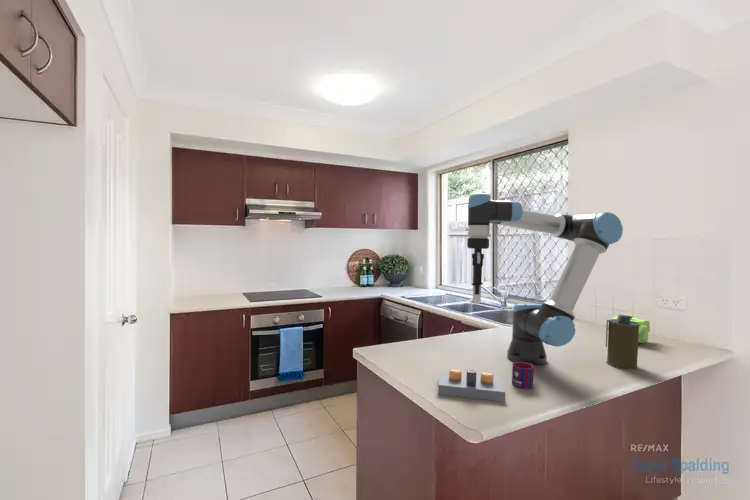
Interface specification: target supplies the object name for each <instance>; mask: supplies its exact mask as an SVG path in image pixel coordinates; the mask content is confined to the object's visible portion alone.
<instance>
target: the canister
mask: <svg viewBox="0 0 750 500" xmlns="http://www.w3.org/2000/svg"><path fill="white" fill-rule="evenodd" d="M629 315H630V314H618V316H617V317H618V318H617V319H613V318H612V319H611V318H610V320H609V319H606V331H605V347H606V348H607V355H606V356H607V358H606V362H605V363H606V364H607V365H608V366H610V365H611V367H613V366H614V367H613V368H616V367H617V369H620V368H622V370H627V369H635V370H637V369H638V368H639V367H638V352H639V343H638V336H639V326H640V324H639V323H637V322H633V321H630V318H632V317H631V316H629ZM608 322H609V331H608Z"/></svg>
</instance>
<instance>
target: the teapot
mask: <svg viewBox="0 0 750 500" xmlns="http://www.w3.org/2000/svg"><path fill="white" fill-rule="evenodd" d="M628 315H629V316H631V317H632V318H630V321H633V322H637V323H639V324H640V326H639V336H638V344H639V343H641V344H646V343H647V342H648V341H649V333H650V332H651V327H650V325H651V324H650V320H647V319H639V318H637V317H633V316H634V315H632V314H628ZM617 318H618V316H613V317H612V319H617ZM610 319H611V318H610ZM610 319H609V318H608V320H610ZM608 332H609V322H608Z"/></svg>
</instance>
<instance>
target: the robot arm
mask: <svg viewBox="0 0 750 500" xmlns="http://www.w3.org/2000/svg"><path fill="white" fill-rule="evenodd" d="M467 204H468V205H467V212H468V213H467V227H466V228H465V231H467V236H468V238H467V240H466V241H467V243H466V244H467V245H466V247H467V248H468V249H472V250H473V253H471V258H472V266H473V267H472V269H473V270H472V271H473V272H472V273H473V274H472V277H473V278H472V282H471V286H472V304H481V301H482V300H481V299H482V298H481V297H482V295H481V294H482V285H483V282H482V278H483V277H482V275H483V274H482V273H483V272H482V271H483V266H484V259H485V254H484V253H482V252H483V251H482V250H485V249H487V250H488V249H489V248H490V239H489V237H490V232H491V231H490V229H491V225H492V224H493V225H497V226H499V225H500V226H506V227H511V228H516V229H522V230H528V231H533V232H537V233H539V232H540V233H543V234H550V236H552V237H553V238H559V239H562V240H568V241H571V242H573V243H574V245H575V246H574V248H573V250H572V252H571V254H570V257H569V258H568V260H567V262H566V265H565V267H564V269H563V270H562V272H561V275H560V278H559V279H558V281H557V283H556V285H555V288H554V289H553V292H552V293H551V296H550V298H549V300H547V301H544V302H542V304H541V303H516V304H514V305H513V308H512V332H511V333H512V337H511V341H510V343H509V345H508V348H507V350H506V351H507V352H506V353H507V354H506V357H507V358H508V359H509V360H510V361H512V362H524V363H529V364H533V365H534V366H540V365H544V364H545V365H546V363H547V362H548V361H547V358H548V357H547V353H546V350H545V346H544V344H545V345H548V346H552V347H563V346H565V345H567V344H569V343H570V342H571V341H572V340H573V339H574V336H575V334H576V324H575V323H574V319H575V317H576V316H575V314H574V308H575V307H576V305H577V303H578V301H579V299H580V296H581V294H582V291H583V289H584V287H585V285H586V284H587V281H588V280H589V277H590V276H591V273H592V271H593V269H594V267H595V265H596V262H597V261H598V258H599V256H600V255H602V254H604V253H606V252H607V250H608V249H609V247H610V245H612V244H615V243H618V241H619V240H621V238H622V236H623V231H624V230H623V229H624V227H623V225H622V221H621V219H620V217H619V216H617V215H616V214H614V213H613V212H610V211H609V212H608V211H605V212H604V211H598V212H589V213H578V214H577V213H576V214H563V213H557V214H555V215H554V214H548V213H542V212H537V211H532V210H525V209H523V204H522V203H521V202H520V201H516V200H494V199H492V198H491V195H490V194H489V193H472V194H470V195H469V197H468V203H467Z"/></svg>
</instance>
